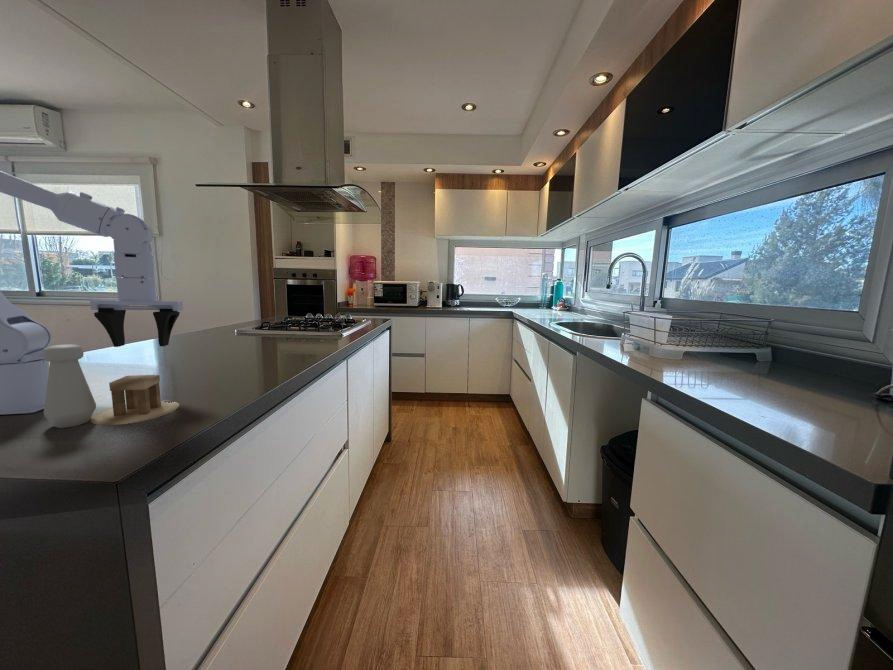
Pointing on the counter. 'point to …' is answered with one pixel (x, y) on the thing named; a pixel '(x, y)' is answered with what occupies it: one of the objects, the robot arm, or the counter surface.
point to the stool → (135, 394)
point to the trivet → (132, 415)
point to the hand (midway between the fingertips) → (142, 345)
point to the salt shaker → (67, 388)
